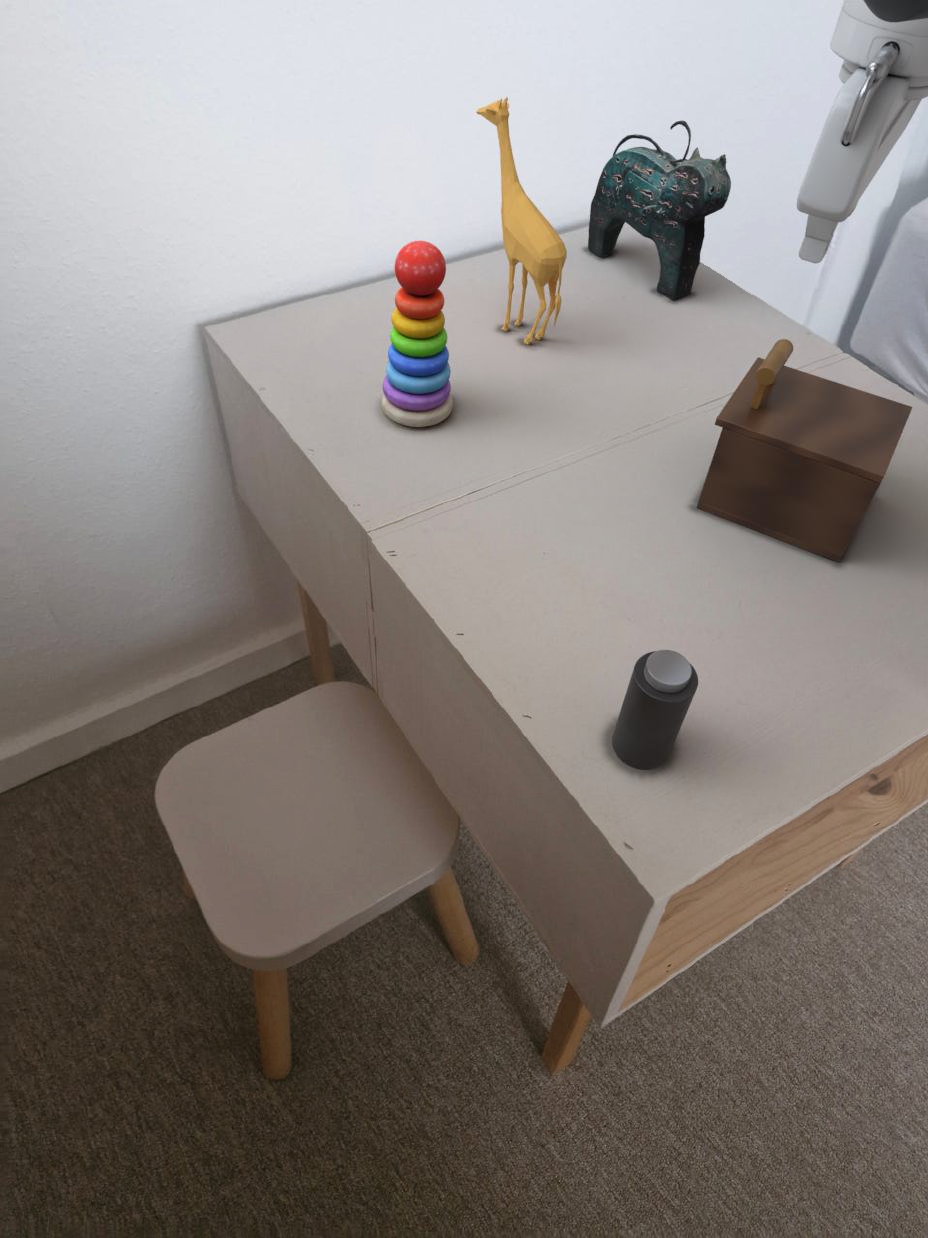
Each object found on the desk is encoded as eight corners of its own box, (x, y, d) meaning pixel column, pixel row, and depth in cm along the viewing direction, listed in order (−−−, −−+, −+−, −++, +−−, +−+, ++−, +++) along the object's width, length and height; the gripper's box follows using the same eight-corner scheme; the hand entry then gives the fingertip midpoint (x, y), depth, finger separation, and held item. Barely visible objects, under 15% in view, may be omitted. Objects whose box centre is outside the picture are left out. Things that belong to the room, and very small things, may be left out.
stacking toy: (451, 432, 93) (458, 266, 79) (378, 429, 93) (372, 262, 79) (453, 391, 98) (460, 229, 84) (384, 388, 98) (379, 224, 84)
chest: (696, 507, 86) (722, 428, 79) (735, 444, 94) (762, 366, 86) (838, 562, 82) (880, 484, 74) (868, 492, 89) (908, 414, 82)
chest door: (714, 424, 79) (729, 376, 75) (755, 363, 87) (771, 316, 83) (880, 483, 74) (906, 435, 71) (909, 413, 82) (933, 366, 78)
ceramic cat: (705, 297, 115) (748, 138, 100) (672, 310, 113) (711, 149, 98) (605, 240, 126) (631, 88, 111) (573, 251, 123) (595, 96, 108)
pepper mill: (678, 737, 68) (711, 659, 60) (656, 779, 65) (688, 703, 57) (625, 711, 69) (651, 632, 62) (602, 752, 66) (626, 674, 59)
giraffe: (456, 304, 111) (465, 89, 93) (482, 294, 113) (495, 83, 95) (540, 360, 103) (568, 137, 85) (566, 349, 105) (599, 129, 86)
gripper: (927, 79, 49) (833, 302, 60) (977, 4, 61) (892, 200, 72) (819, 55, 51) (747, 275, 61) (889, -13, 63) (819, 180, 73)
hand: (826, 234), depth 67 cm, fingers open, 8 cm apart
